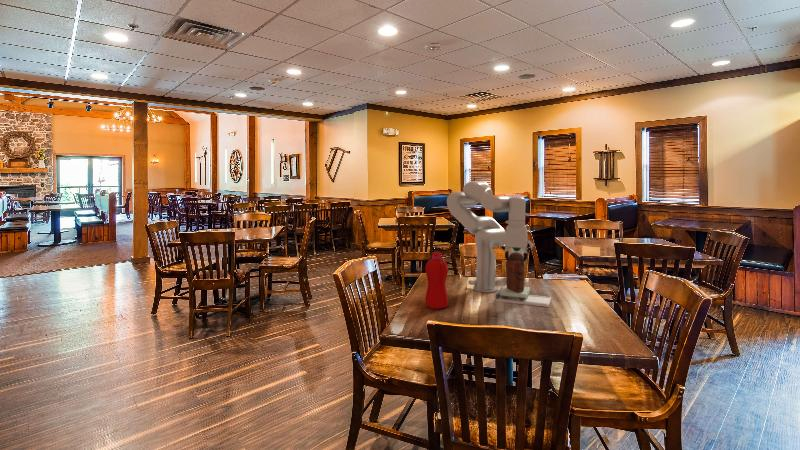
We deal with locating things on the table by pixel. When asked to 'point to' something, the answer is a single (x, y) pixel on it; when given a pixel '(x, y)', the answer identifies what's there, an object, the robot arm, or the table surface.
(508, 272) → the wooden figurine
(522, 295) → the pale green flat box
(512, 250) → the milk carton
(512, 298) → the rail track
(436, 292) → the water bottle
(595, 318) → the table surface
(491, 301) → the table surface
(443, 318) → the table surface
